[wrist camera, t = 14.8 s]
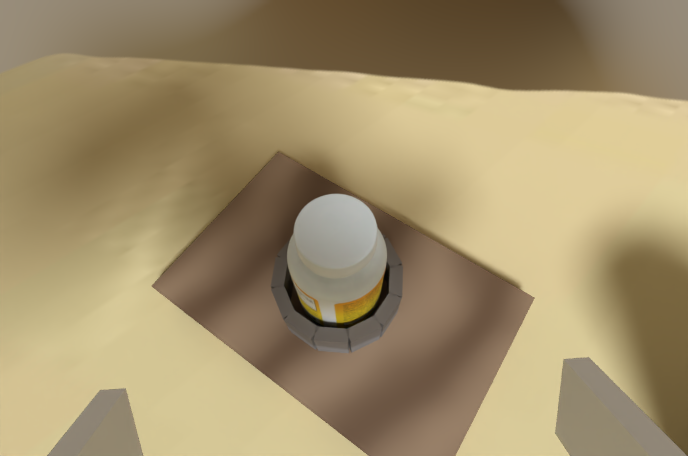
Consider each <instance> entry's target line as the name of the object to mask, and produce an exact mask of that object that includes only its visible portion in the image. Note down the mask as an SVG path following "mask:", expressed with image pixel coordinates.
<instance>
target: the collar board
mask: <svg viewBox="0 0 688 456" xmlns="http://www.w3.org/2000/svg"><path fill="white" fill-rule="evenodd" d="M328 194H345V195H349V196H352V197H354V198H357V199H359V200H360V201H362V202H363V203H364V204H365V205H366V206H367V207H368V208H369V209H370V210H371V212H372V213H373V215H374V217H375V220H376V223H377V228H378V229H379V230H380V232H381V234H382V236H383V238H384V241H385V244H386V249H387V263H386V269H385V273H384V278H383V283H382V288H381V293H380V298H379V302H378V305H377V307H376V309H375V311H374V313H373V314H372V315H371V317H370V318H369V319H366V320H364V321H362V322H360V323H358V324H356V325H354V326H352V327H350V328H348V329H344V328H331V327H320V326H318V325H317V324H315V323H314V322H313V321H312V320H311V319H310V318H309V317H308V316H307V314H306V313H305V311H304V309H303V307H302V305H301V303H300V300H299V297H298V294H297V291H296V288H295V286H294V283H293V280H292V278H291V275H290V272H289V268H288V263H287V250H288V245H289V242H290V239H291V237H292V235H293V233H294V225H295V221H296V219H297V217H298V215H299V213H300V212H301V210H302V209H303V208H304V207H305V206H306V205H307V204H308V203H309V202H311V201H312V200H314V199H316V198H318V197H321V196H324V195H328ZM152 287H153V288H154V289H156V290H157V291H158V292H159V293H161V294H162V295H163V296H165V297H166V298H167V299H168V300H170V301H171V302H172V303H174V304H175V305H176V306H177V307H179V308H180V309H181V310H183V311H184V312H185V313H186V314H188V315H189V316H190V317H192V318H193V319H194V320H195V321H197V322H198V323H199V324H201V325H202V326H203V327H204V328H206V329H207V330H208V331H210V332H211V333H212V334H213V335H215V336H216V337H217V338H218V339H220V340H221V341H222V342H224V343H225V344H226V345H227V346H229V347H230V348H231V349H233V350H234V351H235V352H236V353H238V354H239V355H240V356H242V357H243V358H244V359H245V360H247V361H248V362H249V363H251V364H252V365H253V366H254V367H256V368H257V369H258V370H260V371H261V372H262V373H263V374H265V375H266V376H267V377H269V378H270V379H271V380H272V381H274V382H275V383H276V384H277V385H279V386H280V387H281V388H283V389H284V390H285V391H286V392H288V393H289V394H290V395H292V396H293V397H294V398H295V399H297V400H298V401H299V402H301V403H302V404H303V405H304V406H306V407H307V408H308V409H310V410H311V411H312V412H313V413H315V414H316V415H317V416H319V417H320V418H321V419H322V420H324V421H325V422H326V423H328V424H329V425H330V426H331V427H333V428H334V429H335V430H337V431H338V432H339V433H340V434H342V435H343V436H344V437H345V438H347V439H348V440H349V441H351V442H352V443H353V444H354V445H356V446H357V447H358V448H360V449H361V450H362V451H363V452H365V453H366V454H367V455H369V456H455V455H456V453H457V451H458V449H459V447H460V445H461V443H462V441H463V439H464V437H465V435H466V433H467V431H468V429H469V428H470V426H471V424H472V422H473V420H474V418H475V416H476V414H477V412H478V410H479V408H480V406H481V404H482V402H483V400H484V398H485V396H486V394H487V392H488V390H489V388H490V386H491V384H492V382H493V380H494V378H495V376H496V374H497V372H498V370H499V368H500V366H501V364H502V362H503V360H504V358H505V356H506V354H507V352H508V350H509V348H510V346H511V344H512V342H513V340H514V338H515V336H516V334H517V332H518V330H519V328H520V326H521V324H522V322H523V320H524V318H525V316H526V314H527V312H528V310H529V308H530V306H531V304H532V302H533V300H534V297H532V296H531V295H529V294H527V293H525V292H524V291H522V290H520V289H518V288H517V287H515V286H513V285H511V284H510V283H508V282H506V281H504V280H503V279H501V278H499V277H497V276H496V275H494V274H492V273H490V272H489V271H487V270H485V269H483V268H481V267H480V266H478V265H476V264H474V263H473V262H471V261H469V260H467V259H466V258H464V257H462V256H460V255H459V254H457V253H455V252H453V251H452V250H450V249H448V248H446V247H445V246H443V245H441V244H439V243H438V242H436V241H434V240H432V239H431V238H429V237H427V236H425V235H424V234H422V233H420V232H418V231H417V230H415V229H413V228H411V227H410V226H408V225H406V224H404V223H403V222H401V221H399V220H397V219H396V218H394V217H392V216H390V215H389V214H387V213H385V212H383V211H382V210H380V209H378V208H376V207H375V206H373V205H371V204H369V203H367V202H366V201H364V200H362V199H360V198H359V197H357V196H355V195H353V194H352V193H350V192H348V191H346V190H345V189H343V188H341V187H339V186H338V185H336V184H334V183H332V182H331V181H329V180H327V179H325V178H324V177H322V176H320V175H318V174H317V173H315V172H313V171H311V170H310V169H308V168H306V167H304V166H303V165H301V164H299V163H297V162H296V161H294V160H292V159H290V158H289V157H287V156H285V155H283V154H282V153H280V152H278V153H277V154H276V155H275V156H274V157H273V158H272V159H271V160H270V161H269V162H268V163H267V164H266V165H265V167H264V168H263V169H262V170H261V171H260V172H259V173H258V174H257V175H256V176H255V177H254V178H253V179H252V180H251V181H250V182H249V183H248V185H247V186H246V187H245V188H244V189H243V190H242V191H241V192H240V193H239V194H238V195H237V196H236V197H235V198H234V199H233V200H232V201H231V202H230V204H229V205H228V206H227V207H226V208H225V209H224V210H223V211H222V212H221V213H220V214H219V215H218V216H217V217H216V218H215V219H214V220H213V222H212V223H211V224H210V225H209V226H208V227H207V228H206V229H205V230H204V231H203V232H202V233H201V234H200V235H199V236H198V237H197V238H196V239H195V241H194V242H193V243H192V244H191V245H190V246H189V247H188V248H187V249H186V250H185V251H184V252H183V253H182V254H181V255H180V256H179V257H178V259H177V260H176V261H175V262H174V263H173V264H172V265H171V266H170V267H169V268H168V269H167V270H166V271H165V272H164V273H163V274H162V275H161V276H160V278H159V279H158V280H157V281H156V282H155V283H154V284H153V285H152Z"/></svg>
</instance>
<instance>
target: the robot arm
mask: <svg viewBox="0 0 688 456" xmlns="http://www.w3.org/2000/svg"><path fill="white" fill-rule="evenodd" d="M555 434H556V435H557V437H558V438H559V440H560V441H561V443H562V444H563V446H564V447H565V449H566V450H567V452H568V453H569V455H570V456H687V455H686V454H685V453H684V452H683V451H682V450H681V449H680V448H679V447H678V446H677V445H676V444H675V443H674V442H673V441H672V440H671V439H670V438H669V437H668V436H667V435H666V434H665V433H664V432H663V431H662V430H661V429H660V428H659V427H658V426H657V425H656V424H655V423H654V422H653V421H652V420H651V419H650V418H649V417H648V416H647V415H646V414H645V413H644V412H643V411H642V410H641V409H640V408H639V407H638V406H637V405H636V404H635V403H634V402H633V401H632V400H631V399H630V398H629V397H628V396H627V395H626V394H625V393H624V392H623V391H622V390H621V389H620V388H619V387H618V386H617V385H616V384H615V383H614V382H613V381H612V380H611V379H610V378H609V377H608V376H607V375H606V374H605V373H604V372H603V371H602V370H601V369H600V368H599V367H598V366H597V365H596V364H595V363H594V362H593V361H592V360H591V359H590V358H589V357H587V358H573V359H564V360H563V369H562V378H561V387H560V396H559V404H558V413H557V422H556V431H555ZM47 456H143V453H142V449H141V445H140V441H139V438H138V434H137V430H136V426H135V422H134V418H133V414H132V411H131V407H130V403H129V399H128V395H127V391H126V388H125V389H110V390H100V391H99V392H98V393H97V395H96V396H95V397H94V398H93V399H92V401H91V402H90V403H89V404H88V406H87V407H86V408H85V409H84V411H83V412H82V413H81V414H80V416H79V417H78V418H77V419H76V421H75V422H74V423H73V424H72V426H71V427H70V428H69V429H68V430H67V432H66V433H65V434H64V435H63V437H62V438H61V439H60V440H59V442H58V443H57V444H56V445H55V447H54V448H53V449H52V450H51V452H50V453H49V454H48V455H47Z"/></svg>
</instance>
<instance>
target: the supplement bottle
mask: <svg viewBox="0 0 688 456" xmlns="http://www.w3.org/2000/svg"><path fill="white" fill-rule="evenodd" d="M287 263H288V268H289V272H290V275H291V278H292V280H293V283H294V286H295V288H296V291H297V294H298V297H299V300H300V303H301V305H302V307H303V309H304V311H305V313H306V314H307V316H308V317H309V318H310V319H311V320H312V321H313V322H314V323H315V324H317V325H318V326H320V327H331V328H344V329H348V328H350V327H352V326H354V325H356V324H358V323H360V322H362V321H364V320H366V319H369V318H370V317H371V315H372V314H373V313H374V311H375V309H376V307H377V305H378V302H379V298H380V293H381V288H382V283H383V278H384V273H385V269H386V263H387V249H386V244H385V241H384V238H383V236H382V234H381V232H380V230H379V229H378V228H377V223H376V220H375V217H374V215H373V213H372V212H371V210H370V209H369V208H368V207H367V206H366V205H365V204H364V203H363V202H362V201H360V200H359V199H357V198H354V197H352V196H349V195H345V194H328V195H324V196H321V197H318V198H316V199H314V200H312V201H311V202H309V203H308V204H307V205H306V206H305V207H304V208H303V209H302V210H301V212H300V213H299V215H298V217H297V219H296V221H295V225H294V233H293V235H292V237H291V239H290V242H289V245H288V250H287Z"/></svg>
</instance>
